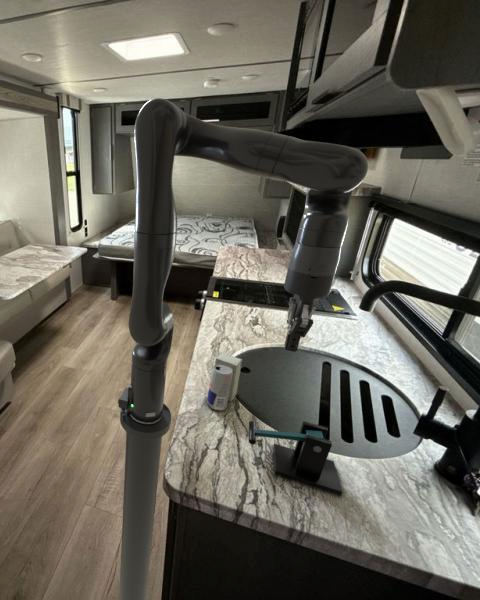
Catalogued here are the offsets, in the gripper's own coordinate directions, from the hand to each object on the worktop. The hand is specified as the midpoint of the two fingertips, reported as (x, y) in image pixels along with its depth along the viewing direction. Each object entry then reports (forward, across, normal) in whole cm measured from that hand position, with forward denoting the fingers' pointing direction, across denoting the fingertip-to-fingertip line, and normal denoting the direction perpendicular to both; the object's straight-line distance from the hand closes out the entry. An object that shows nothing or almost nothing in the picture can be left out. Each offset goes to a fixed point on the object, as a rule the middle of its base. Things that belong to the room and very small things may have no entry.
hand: (290, 349), depth 63 cm
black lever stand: (+27, +3, +8) cm, 28 cm away
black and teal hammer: (+21, +3, +3) cm, 21 cm away
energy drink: (+27, -11, -12) cm, 32 cm away
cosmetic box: (+27, -17, -11) cm, 34 cm away
